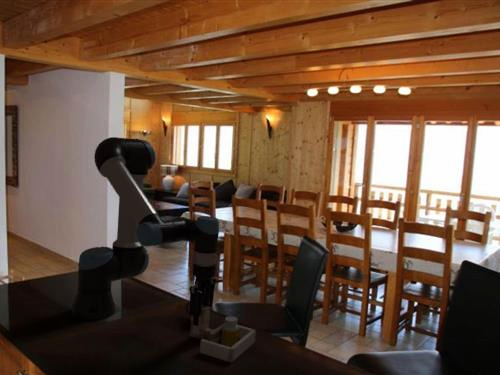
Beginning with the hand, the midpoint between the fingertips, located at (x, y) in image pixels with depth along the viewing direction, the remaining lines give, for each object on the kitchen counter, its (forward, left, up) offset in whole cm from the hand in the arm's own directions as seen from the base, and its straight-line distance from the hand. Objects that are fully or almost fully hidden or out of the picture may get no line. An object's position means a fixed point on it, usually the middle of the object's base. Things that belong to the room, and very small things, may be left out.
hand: (199, 331), depth 146 cm
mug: (-8, +12, -2) cm, 15 cm away
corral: (+11, 0, -2) cm, 11 cm away
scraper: (+3, 0, -1) cm, 3 cm away
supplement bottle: (+11, 0, -2) cm, 12 cm away
